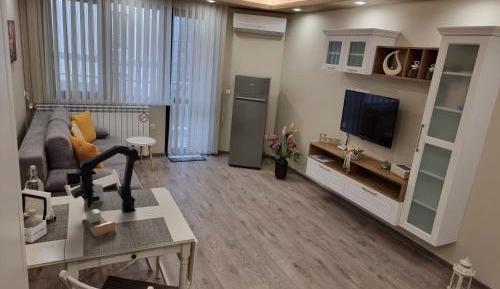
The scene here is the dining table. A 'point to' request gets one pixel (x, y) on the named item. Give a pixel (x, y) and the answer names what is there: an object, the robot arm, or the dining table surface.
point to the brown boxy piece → (100, 228)
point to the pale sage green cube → (93, 215)
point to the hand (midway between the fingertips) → (88, 207)
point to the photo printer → (98, 191)
